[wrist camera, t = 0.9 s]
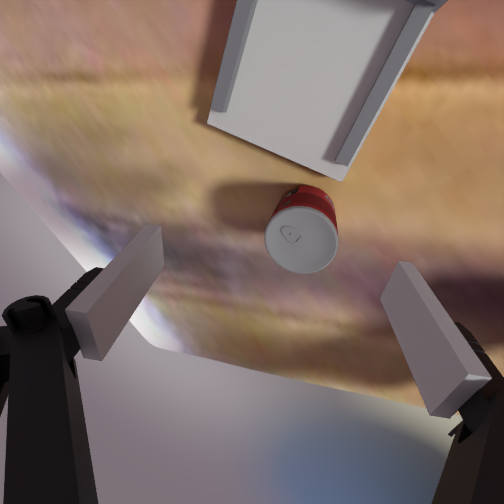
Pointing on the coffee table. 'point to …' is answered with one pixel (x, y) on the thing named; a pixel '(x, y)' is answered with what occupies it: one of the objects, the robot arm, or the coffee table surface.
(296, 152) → the dock
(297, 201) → the canned food
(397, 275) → the robot arm
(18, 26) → the coffee table surface
